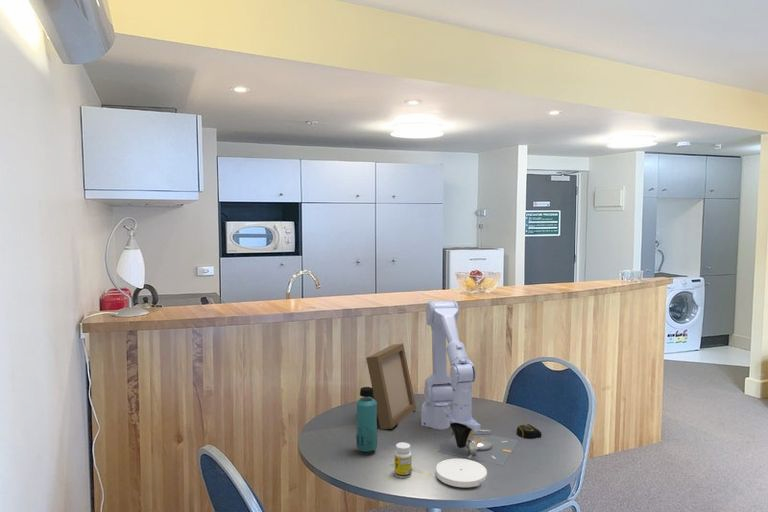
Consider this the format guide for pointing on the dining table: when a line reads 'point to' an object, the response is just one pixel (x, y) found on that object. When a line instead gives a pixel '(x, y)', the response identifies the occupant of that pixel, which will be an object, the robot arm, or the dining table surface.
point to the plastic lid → (461, 472)
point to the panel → (494, 455)
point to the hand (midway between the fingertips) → (461, 446)
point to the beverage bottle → (366, 421)
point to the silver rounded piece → (478, 444)
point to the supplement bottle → (403, 460)
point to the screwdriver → (478, 431)
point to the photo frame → (391, 385)
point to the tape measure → (528, 432)
